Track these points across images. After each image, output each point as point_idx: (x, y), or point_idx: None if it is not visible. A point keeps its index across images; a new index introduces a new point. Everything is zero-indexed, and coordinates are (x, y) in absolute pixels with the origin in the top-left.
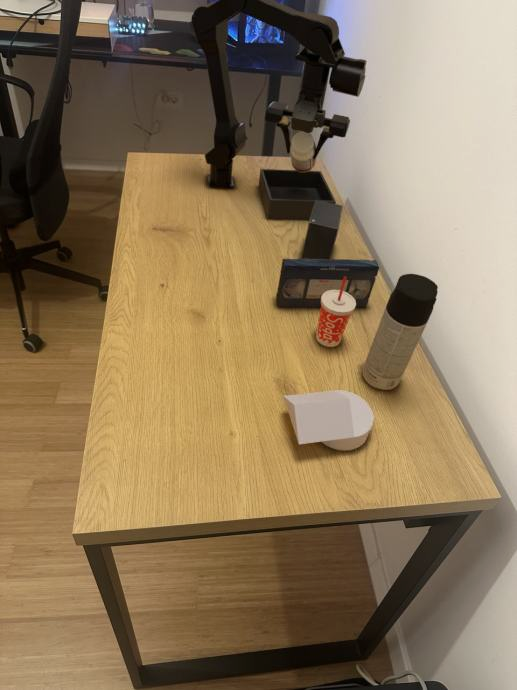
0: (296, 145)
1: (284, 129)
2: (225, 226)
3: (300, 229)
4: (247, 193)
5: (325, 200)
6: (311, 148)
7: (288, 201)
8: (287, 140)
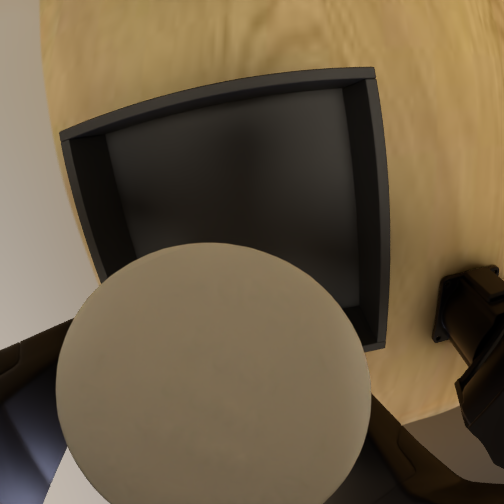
0: (303, 344)
1: (482, 493)
2: (466, 39)
3: (217, 32)
4: (405, 257)
5: (97, 126)
6: (86, 306)
7: (280, 74)
8: (380, 425)
